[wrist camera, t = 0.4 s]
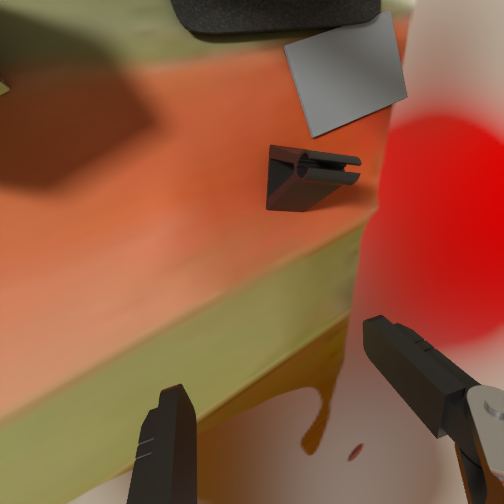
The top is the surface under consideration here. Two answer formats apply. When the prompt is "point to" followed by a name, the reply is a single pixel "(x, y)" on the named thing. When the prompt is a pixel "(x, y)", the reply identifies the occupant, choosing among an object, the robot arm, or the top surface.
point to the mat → (347, 73)
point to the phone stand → (305, 177)
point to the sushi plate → (270, 14)
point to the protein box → (3, 87)
